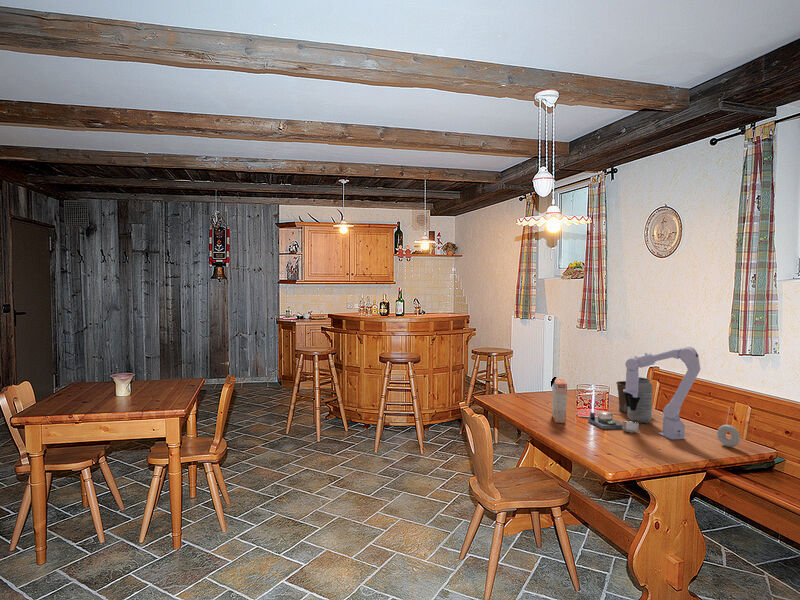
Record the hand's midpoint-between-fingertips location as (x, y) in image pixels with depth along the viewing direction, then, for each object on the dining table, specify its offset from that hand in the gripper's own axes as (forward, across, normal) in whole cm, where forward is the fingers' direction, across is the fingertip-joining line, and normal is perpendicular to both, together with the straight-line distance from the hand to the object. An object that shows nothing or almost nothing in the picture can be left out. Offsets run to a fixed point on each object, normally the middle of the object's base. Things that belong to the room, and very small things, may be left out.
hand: (631, 408), depth 254 cm
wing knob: (+10, +6, -1) cm, 12 cm away
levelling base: (+10, -3, -11) cm, 16 cm away
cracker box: (+11, -8, -34) cm, 36 cm away
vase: (+11, -16, +8) cm, 21 cm away
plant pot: (+11, -37, +9) cm, 40 cm away
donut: (+11, +18, +37) cm, 43 cm away
